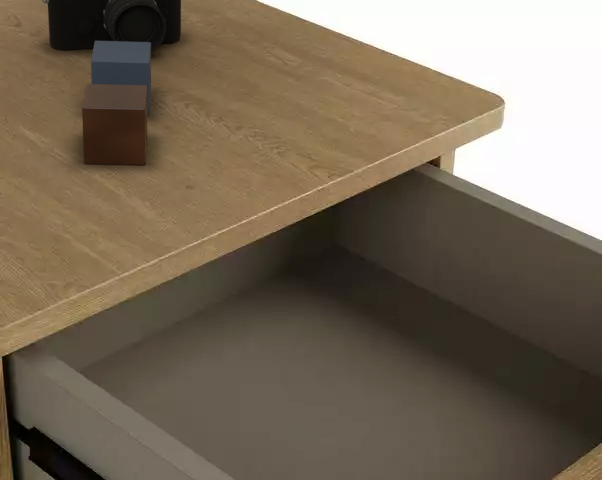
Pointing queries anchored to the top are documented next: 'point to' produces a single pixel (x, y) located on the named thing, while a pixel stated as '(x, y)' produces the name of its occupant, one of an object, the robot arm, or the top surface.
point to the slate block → (122, 64)
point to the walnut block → (115, 124)
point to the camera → (112, 22)
